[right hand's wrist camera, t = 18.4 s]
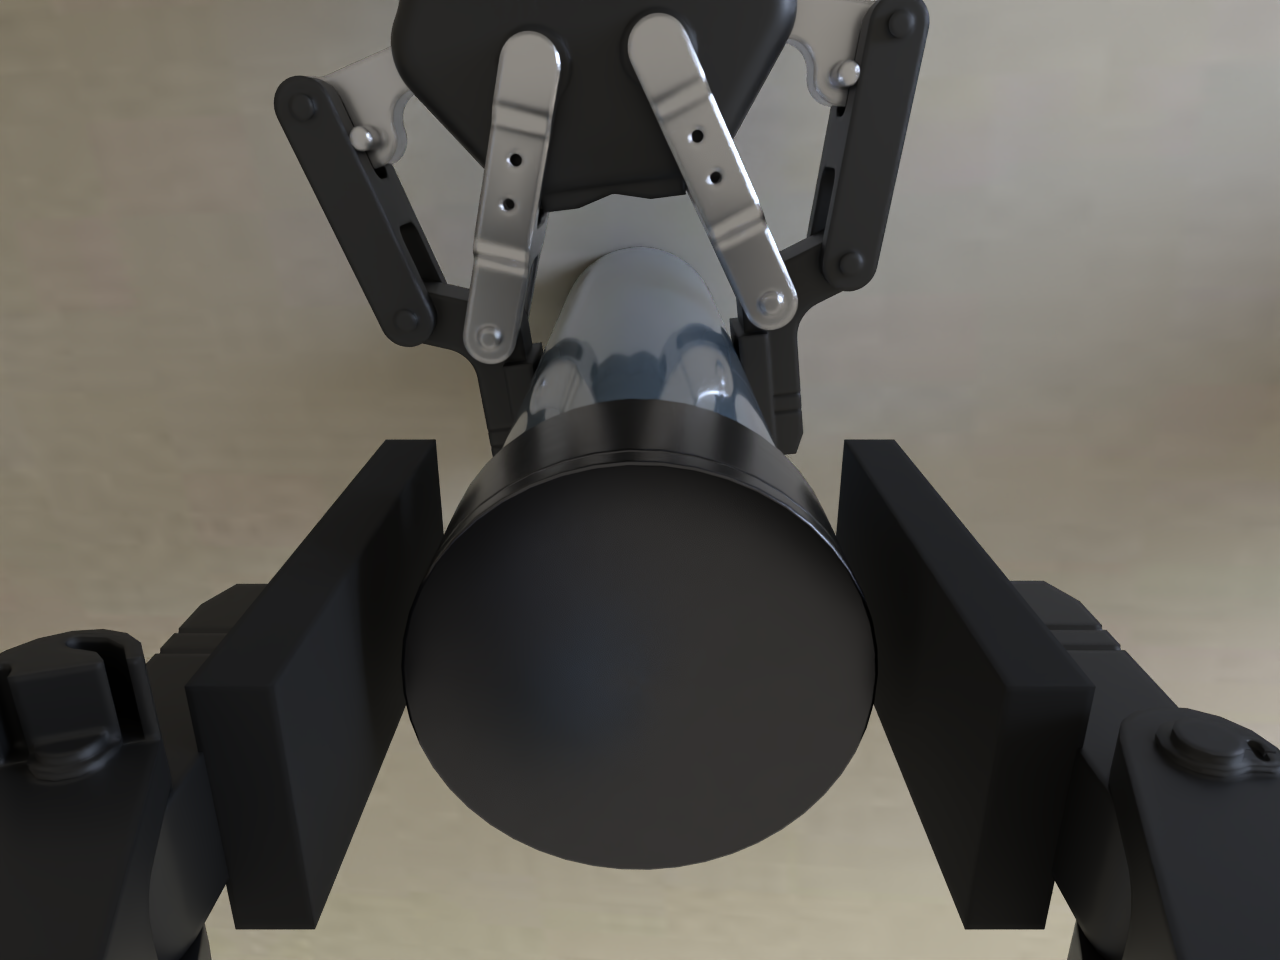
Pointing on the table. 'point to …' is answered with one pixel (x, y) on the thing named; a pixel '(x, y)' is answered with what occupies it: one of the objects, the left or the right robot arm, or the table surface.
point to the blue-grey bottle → (639, 344)
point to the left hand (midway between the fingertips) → (651, 479)
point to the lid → (639, 640)
